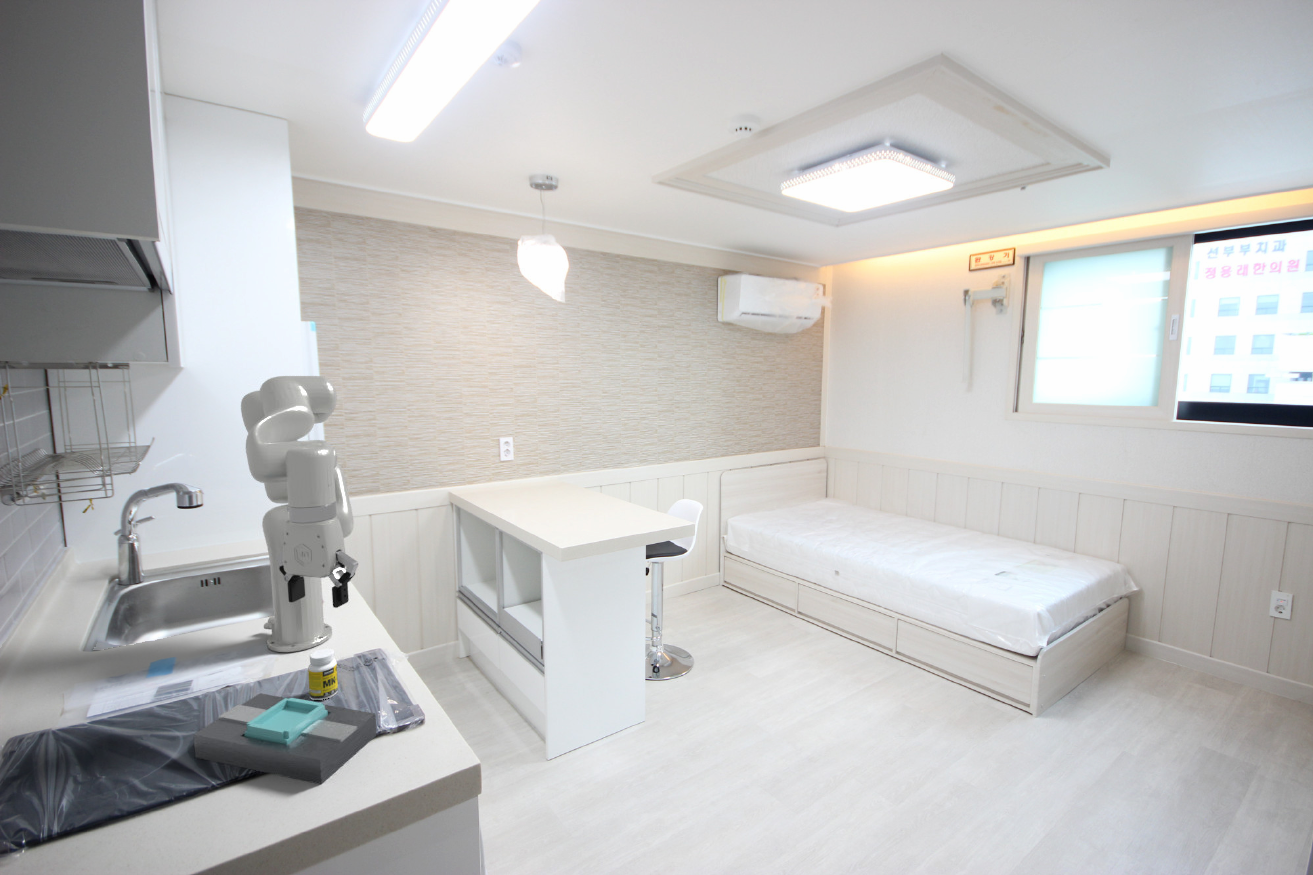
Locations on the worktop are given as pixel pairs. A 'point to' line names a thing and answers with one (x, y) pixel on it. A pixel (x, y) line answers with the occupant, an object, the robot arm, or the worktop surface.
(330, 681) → the supplement bottle
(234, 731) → the block
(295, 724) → the tray
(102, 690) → the worktop surface
